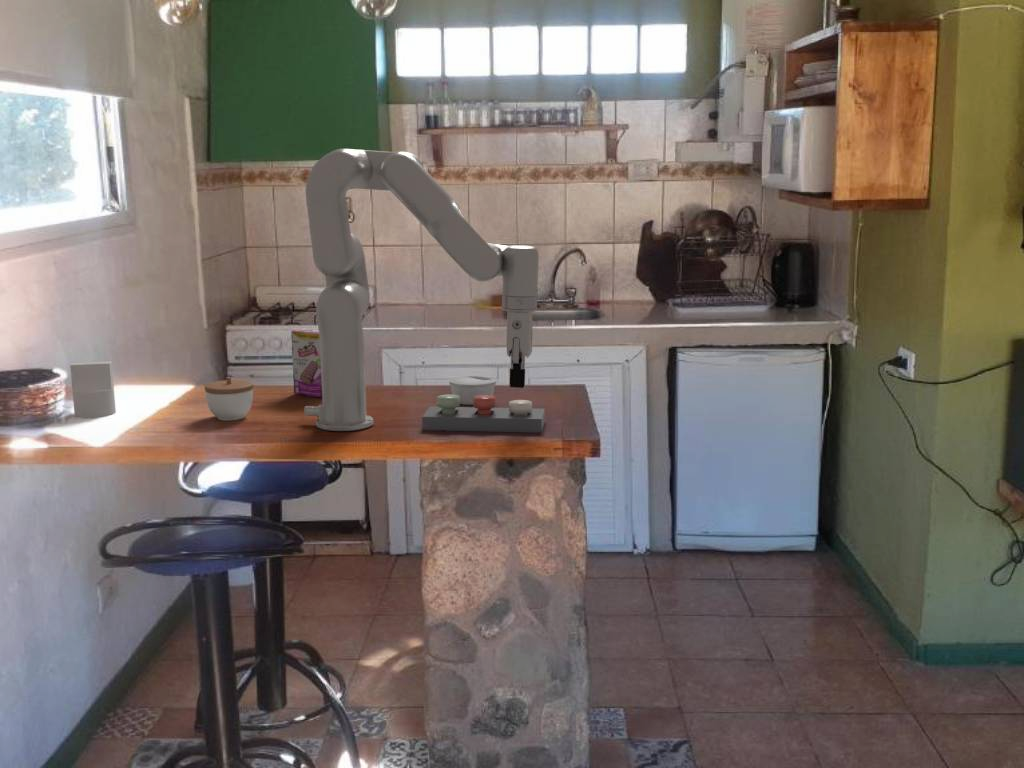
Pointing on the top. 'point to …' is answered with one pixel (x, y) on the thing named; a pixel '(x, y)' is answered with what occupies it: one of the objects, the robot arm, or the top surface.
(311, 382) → the candy bar box
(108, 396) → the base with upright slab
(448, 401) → the button sage
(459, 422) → the button panel
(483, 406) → the button red
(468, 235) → the robot arm
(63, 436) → the top surface
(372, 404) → the top surface
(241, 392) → the lidded jar
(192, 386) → the top surface
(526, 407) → the button cream
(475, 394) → the ramekin
